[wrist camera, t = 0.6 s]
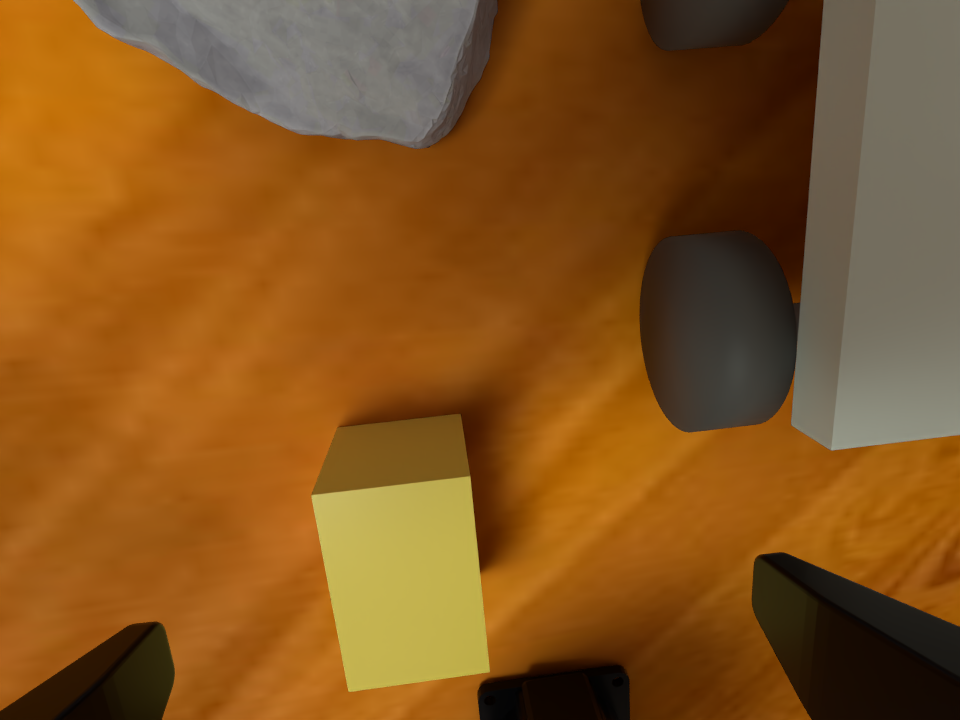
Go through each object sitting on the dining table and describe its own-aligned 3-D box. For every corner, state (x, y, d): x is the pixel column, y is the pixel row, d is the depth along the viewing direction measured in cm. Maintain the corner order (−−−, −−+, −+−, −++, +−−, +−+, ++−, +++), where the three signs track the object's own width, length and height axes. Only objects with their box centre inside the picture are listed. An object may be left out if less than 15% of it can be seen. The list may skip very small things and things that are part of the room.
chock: (476, 573, 23) (489, 672, 18) (365, 587, 23) (348, 692, 18) (460, 412, 21) (470, 476, 16) (337, 426, 21) (311, 495, 16)
